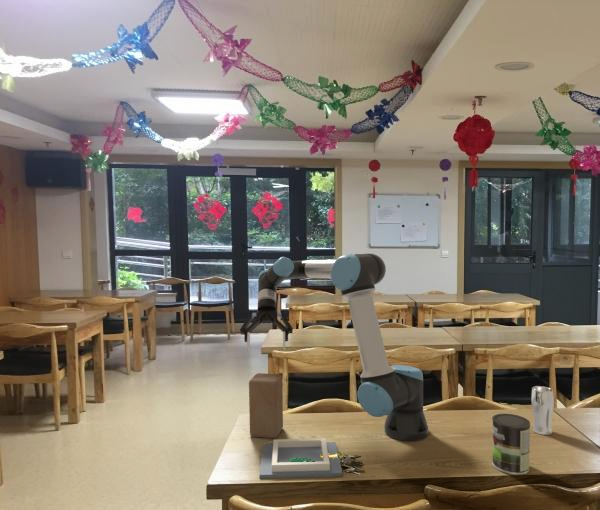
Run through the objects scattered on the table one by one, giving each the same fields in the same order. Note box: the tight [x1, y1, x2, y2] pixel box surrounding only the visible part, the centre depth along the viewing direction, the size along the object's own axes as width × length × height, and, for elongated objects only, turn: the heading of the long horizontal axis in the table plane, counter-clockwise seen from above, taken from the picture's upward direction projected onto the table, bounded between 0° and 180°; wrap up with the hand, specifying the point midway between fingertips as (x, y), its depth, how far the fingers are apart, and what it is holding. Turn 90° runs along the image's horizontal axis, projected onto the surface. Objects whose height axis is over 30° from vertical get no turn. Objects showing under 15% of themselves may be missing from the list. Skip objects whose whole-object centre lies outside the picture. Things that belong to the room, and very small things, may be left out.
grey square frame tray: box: [259, 437, 343, 479], centre depth 144 cm, size 24×20×3 cm
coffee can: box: [491, 413, 531, 476], centre depth 138 cm, size 10×10×14 cm
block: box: [248, 372, 284, 439], centre depth 164 cm, size 10×10×20 cm
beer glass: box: [530, 385, 555, 436], centre depth 162 cm, size 7×7×15 cm
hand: (266, 348), depth 174 cm, fingers open, 13 cm apart
